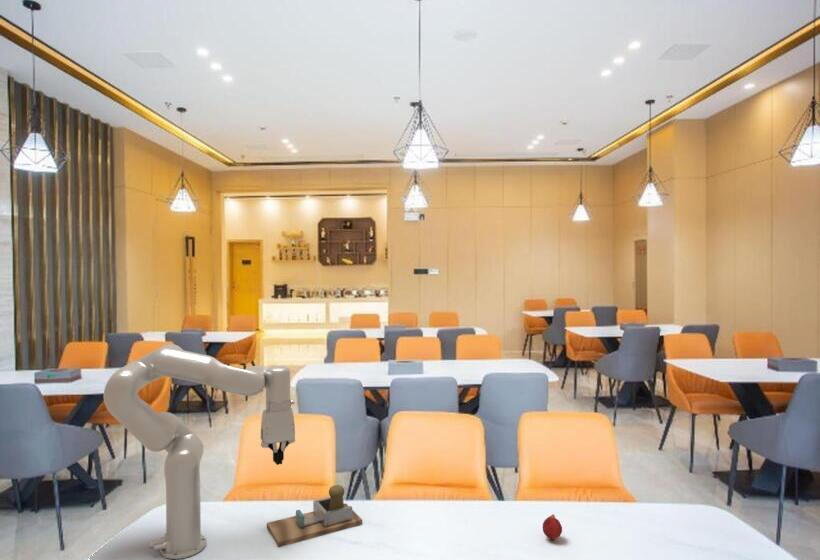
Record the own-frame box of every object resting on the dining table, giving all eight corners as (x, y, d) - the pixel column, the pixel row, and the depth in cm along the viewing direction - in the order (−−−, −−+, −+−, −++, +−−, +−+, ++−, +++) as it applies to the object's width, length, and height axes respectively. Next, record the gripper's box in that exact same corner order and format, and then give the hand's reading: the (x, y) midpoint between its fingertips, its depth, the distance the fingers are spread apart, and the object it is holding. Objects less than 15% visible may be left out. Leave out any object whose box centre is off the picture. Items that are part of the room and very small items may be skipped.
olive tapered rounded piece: (347, 515, 173) (347, 483, 173) (342, 523, 167) (342, 490, 167) (330, 514, 174) (330, 482, 174) (325, 522, 168) (325, 489, 168)
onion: (548, 546, 154) (548, 520, 154) (539, 536, 160) (539, 511, 160) (565, 543, 156) (565, 517, 156) (555, 534, 161) (555, 509, 161)
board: (278, 547, 154) (278, 542, 154) (266, 527, 166) (266, 522, 166) (362, 524, 168) (362, 519, 168) (345, 507, 180) (345, 503, 180)
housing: (303, 532, 159) (303, 519, 159) (293, 517, 169) (293, 505, 169) (352, 519, 168) (352, 507, 168) (339, 506, 177) (339, 494, 177)
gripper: (297, 400, 167) (297, 455, 168) (251, 406, 160) (251, 463, 160) (304, 405, 161) (304, 462, 161) (256, 411, 153) (257, 471, 154)
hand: (278, 463), depth 161 cm, fingers closed
